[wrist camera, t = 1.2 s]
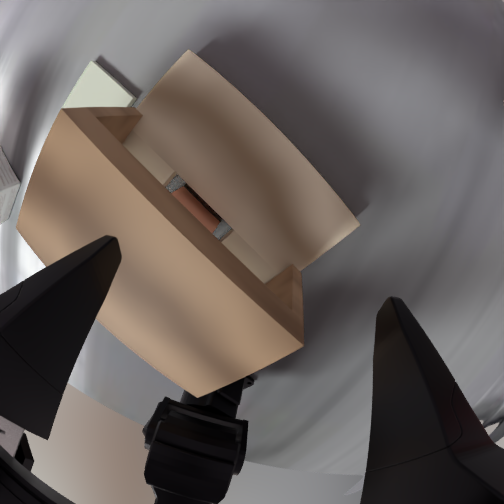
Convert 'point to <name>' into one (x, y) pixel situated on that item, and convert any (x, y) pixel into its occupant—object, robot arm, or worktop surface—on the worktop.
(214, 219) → the block
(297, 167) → the board
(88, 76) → the tile
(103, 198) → the brown wooden u-shape
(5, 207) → the supplement box
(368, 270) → the worktop surface
